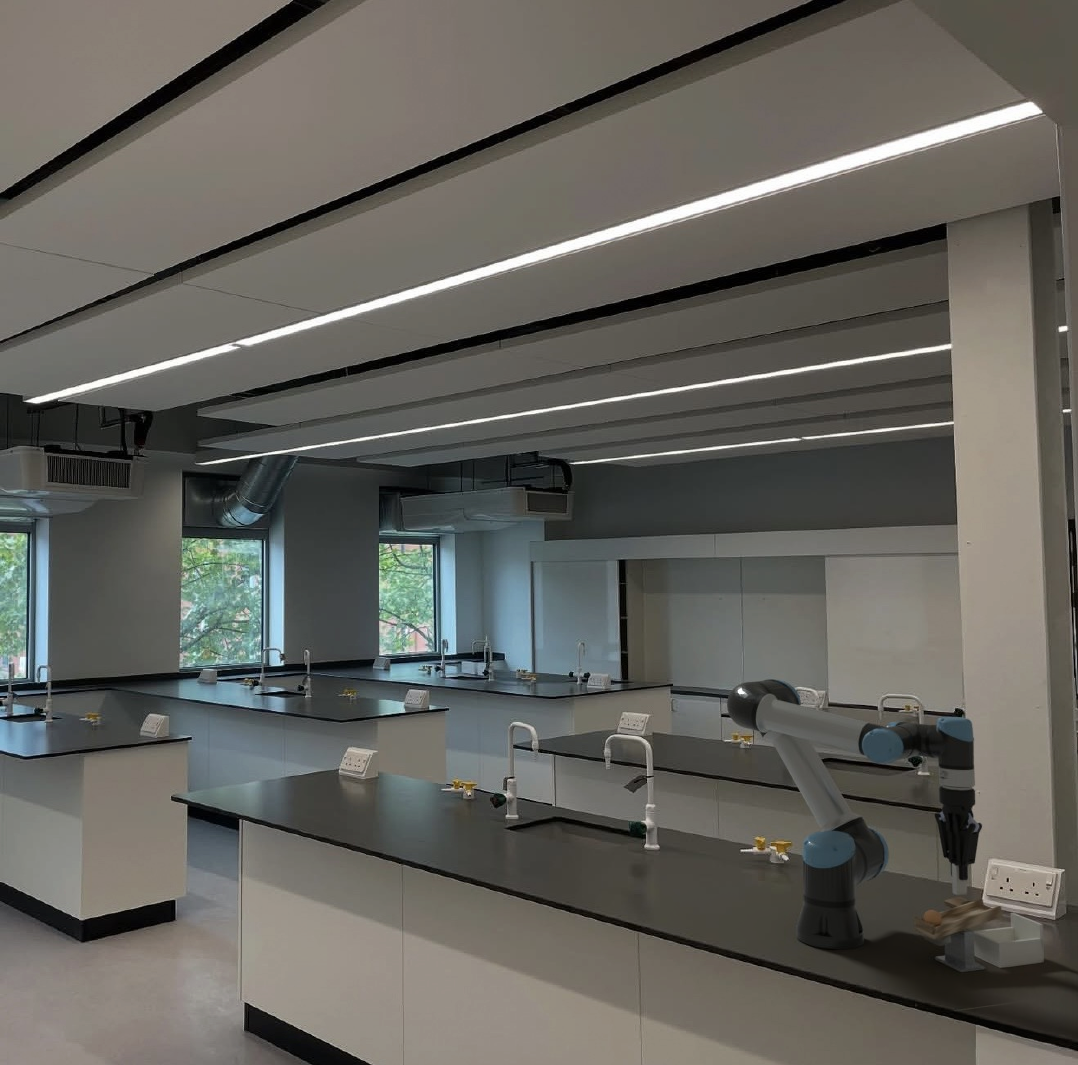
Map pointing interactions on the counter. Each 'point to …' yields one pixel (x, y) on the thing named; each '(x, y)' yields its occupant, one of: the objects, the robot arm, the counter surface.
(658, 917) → the counter surface
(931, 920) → the ball
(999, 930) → the grey open bin
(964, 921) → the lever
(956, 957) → the fulcrum
